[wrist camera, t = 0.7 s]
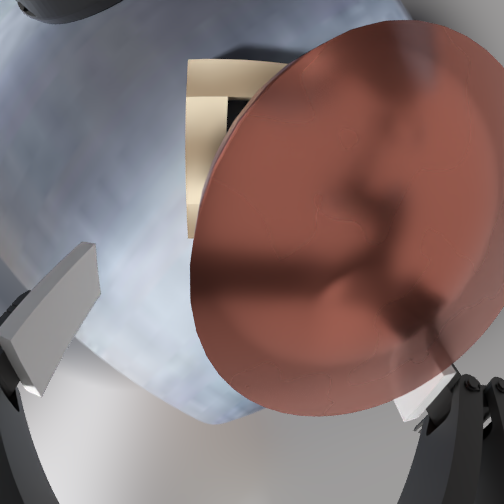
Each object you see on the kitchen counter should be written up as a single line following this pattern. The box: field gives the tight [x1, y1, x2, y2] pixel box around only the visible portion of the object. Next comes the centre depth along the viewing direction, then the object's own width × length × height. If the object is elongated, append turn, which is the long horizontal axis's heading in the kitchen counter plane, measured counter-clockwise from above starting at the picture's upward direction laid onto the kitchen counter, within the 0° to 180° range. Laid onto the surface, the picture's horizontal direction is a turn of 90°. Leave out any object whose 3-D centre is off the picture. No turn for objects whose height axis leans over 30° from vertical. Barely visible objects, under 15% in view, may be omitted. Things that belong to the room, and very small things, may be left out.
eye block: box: [185, 59, 288, 238], centre depth 18 cm, size 12×12×4 cm
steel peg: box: [190, 20, 504, 416], centre depth 12 cm, size 9×9×18 cm
